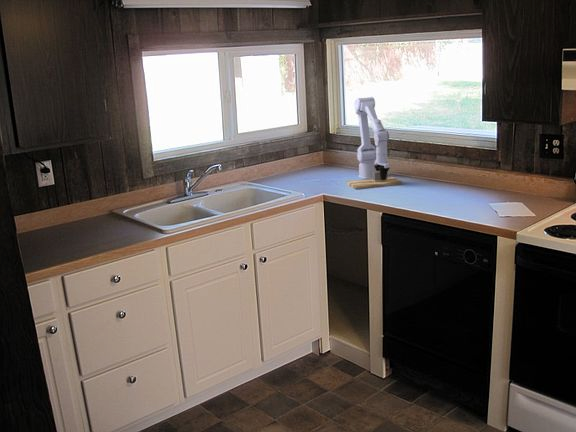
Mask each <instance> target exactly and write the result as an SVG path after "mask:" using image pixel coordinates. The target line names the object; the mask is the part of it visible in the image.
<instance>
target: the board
mask: <svg viewBox="0 0 576 432" xmlns="http://www.w3.org/2000/svg"><path fill="white" fill-rule="evenodd" d="M346 184H347V186H349V187H351V188H352V189H355V190H363V189H372V188H381V187H391V186H399V185H403V181H402V180H400V179H397V178H396V177H393V176H387V181H381V182H374V181H372V178H371V179H358V180H357V179H356V180H354V179H353V180H347V181H346Z"/></svg>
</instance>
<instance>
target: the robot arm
mask: <svg viewBox="0 0 576 432" xmlns="http://www.w3.org/2000/svg"><path fill="white" fill-rule="evenodd" d="M375 108H376V100H375V97H373V96H370V97H359V98H358V97H357V98H356V99H355V100H354V111H355V114H356V115H357V117H358V125H359V132H360V133H359V134H360V140H361V141H360V142H361V145H360V146H359V147H357V150H356V151H357V154H356V159H357V160H358V161H359V165H358V175H357V177H358V178H359V179H361V180H364V179H372V171H380V174H381V180H386V176H387V177H388V172H389V170H390V169H391V167H390V166H389V165H390V164H389V163H388V141H389V139H390V134H389V130H387V129H385V128H384V125H383V123H382V121H381V120H380V119H379V118H378V116H377V113H376V110H375ZM368 120H370V127H371V130H372V131H373V140H374V145H373V144H372V142H371V134H370V127H369V121H368Z"/></svg>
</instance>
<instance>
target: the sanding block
mask: <svg viewBox="0 0 576 432" xmlns="http://www.w3.org/2000/svg"><path fill="white" fill-rule="evenodd" d="M387 177H388V175H387V176H386V180H381V174H380V171H376V170H374V171H372V178H371V179H372V181H374V182H381V181H387Z"/></svg>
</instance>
